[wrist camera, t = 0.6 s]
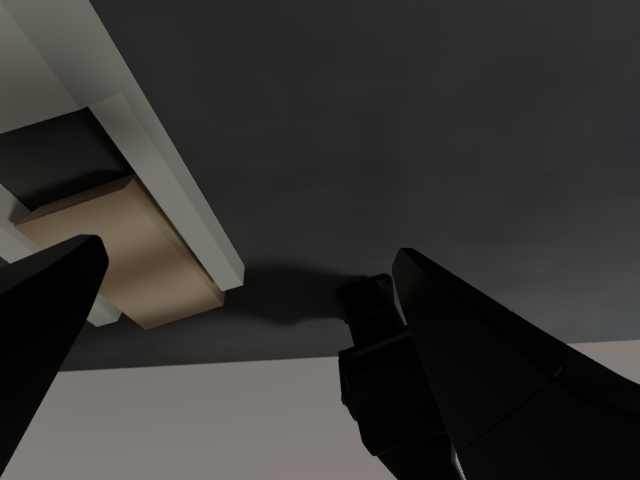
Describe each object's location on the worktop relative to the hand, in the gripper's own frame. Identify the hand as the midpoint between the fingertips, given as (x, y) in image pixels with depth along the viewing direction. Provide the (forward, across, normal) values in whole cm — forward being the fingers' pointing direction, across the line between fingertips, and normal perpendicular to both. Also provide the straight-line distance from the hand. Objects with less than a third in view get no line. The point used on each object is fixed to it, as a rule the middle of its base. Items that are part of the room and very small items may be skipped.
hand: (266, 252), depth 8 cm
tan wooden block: (+14, +10, +11) cm, 21 cm away
